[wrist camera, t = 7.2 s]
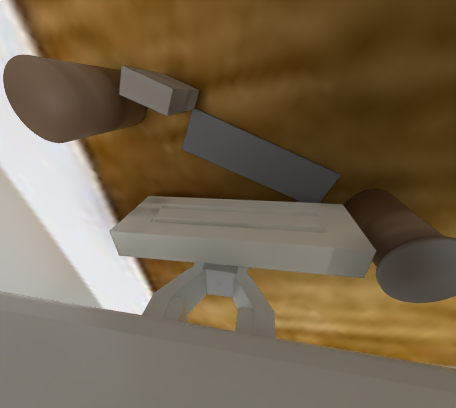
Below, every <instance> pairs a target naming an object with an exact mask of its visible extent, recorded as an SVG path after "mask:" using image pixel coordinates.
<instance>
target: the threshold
mask: <svg viewBox="0 0 456 408" xmlns="http://www.w3.org/2000/svg"><path fill="white" fill-rule="evenodd" d="M182 150H185V151H187V152H189V153H192V154H194V155H196V156H198V157H201V158H203V159H205V160H207V161H210V162H212V163H214V164H216V165H219V166H221V167H223V168H225V169H228V170H230V171H232V172H235V173H237V174H239V175H241V176H244V177H246V178H248V179H250V180H253V181H255V182H257V183H259V184H262V185H264V186H266V187H268V188H271V189H273V190H275V191H278V192H280V193H282V194H284V195H287V196H289V197H291V198H293V199H296V200H298V201H300V202H304V203H320V201H321V200H322V199H323V198H324V196H325V195H326V194H327V192H328V191H329V190H330V188H331V187H332V186H333V185H334V183H335V182H336V181H337V179H338V178H339V177H340V175H339V174H338V173H336V172H334V171H332V170H329V169H327V168H325V167H323V166H321V165H319V164H316V163H314V162H312V161H310V160H308V159H305V158H303V157H301V156H299V155H297V154H295V153H292V152H290V151H288V150H286V149H284V148H281V147H279V146H277V145H275V144H273V143H270V142H268V141H266V140H264V139H262V138H260V137H257V136H255V135H253V134H251V133H249V132H246V131H244V130H242V129H240V128H238V127H236V126H233V125H231V124H229V123H227V122H225V121H222V120H220V119H218V118H216V117H214V116H212V115H209V114H207V113H205V112H203V111H201V110H198V109H196V108H193V110H192V114H191V118H190V121H189V125H188V129H187V132H186V136H185V139H184V143H183V147H182Z"/></svg>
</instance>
